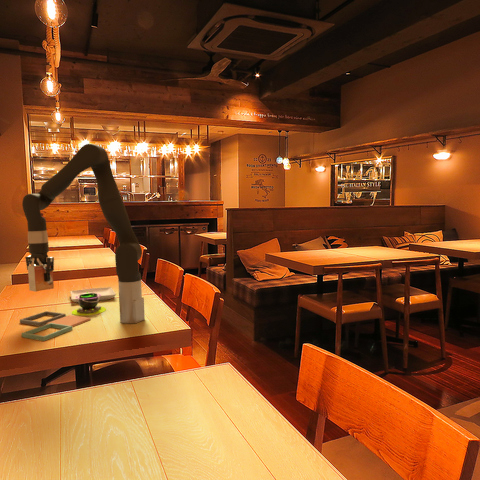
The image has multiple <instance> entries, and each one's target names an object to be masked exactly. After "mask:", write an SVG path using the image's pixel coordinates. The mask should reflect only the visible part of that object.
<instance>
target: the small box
mask: <svg viewBox="0 0 480 480" xmlns="http://www.w3.org/2000/svg"><path fill="white" fill-rule="evenodd" d="M45 265H46V264H45ZM45 268H46V270H47V267H45ZM50 268H51V266H50ZM27 276H28V287H29V288H28V289H29V291H31V292H36V293H37V292H41V291H47V290H52V289H55V284H54V270H53V271H51V272H50V281H48V282H45V281H44V271H43V269H42V268H41V266H39V265H34V266H31V265H30V266H28V270H27Z"/></svg>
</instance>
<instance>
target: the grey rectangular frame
mask: <svg viewBox="0 0 480 480" xmlns="http://www.w3.org/2000/svg"><path fill="white" fill-rule="evenodd" d="M45 316H49V317H50V316H51V318H48V319H45V320H42V321H36V319H39V318H43V317H45ZM65 316H67V315H66V313H63V312H55V311H43V312H40V313H36V314H33V315H30V316H26V317H24V318H21V319H19V324H24V325H30V326H36V327H41V326H43V325H46V324H47V323H48V322H51V321H54V320H57V319H60V318H63V317H65Z"/></svg>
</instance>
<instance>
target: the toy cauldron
mask: <svg viewBox="0 0 480 480" xmlns="http://www.w3.org/2000/svg"><path fill="white" fill-rule="evenodd" d="M83 289H85V290H86V289H88V290H90V289H91V287H88V288H86V287H83ZM83 289H81V290H82V291H83ZM93 290H95V289H93ZM98 295H99V294H98ZM98 295H97V293H93V292H92V293H88V292H87V293H86V294H81V295H79V298H78V296H76V297H75V298H76V299H79V300H78V301H79V302H78V305H79V307H80V308H76V309H73V310H72V311H71V314H72V316H79V317H85V316H87V317H88V316H93V315H94V316H95V315H97V314H101V313H105V312H106V311H107V308H106V307H104V306H101V305H98V304H99V302H100V301H99V299H98V297H99V296H101V294H100V295H99V296H98Z"/></svg>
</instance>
